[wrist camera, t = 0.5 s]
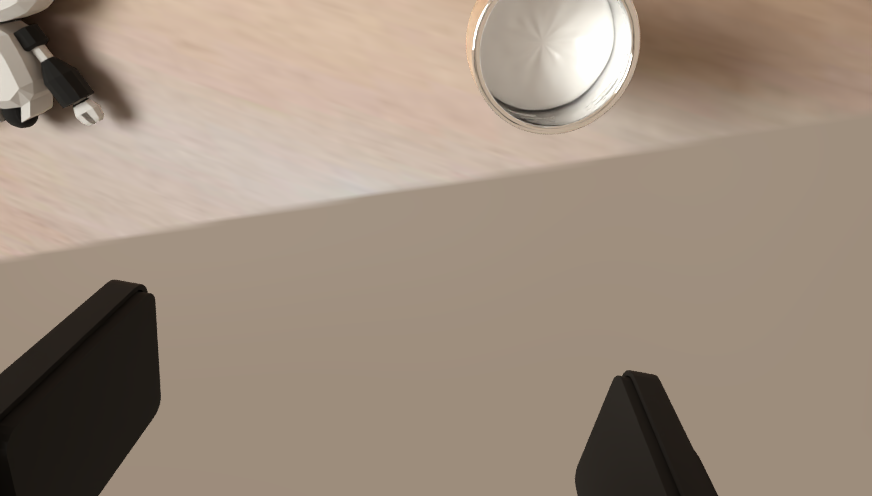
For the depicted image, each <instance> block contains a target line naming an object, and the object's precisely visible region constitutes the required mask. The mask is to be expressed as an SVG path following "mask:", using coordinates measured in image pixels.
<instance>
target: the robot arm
mask: <svg viewBox="0 0 872 496" xmlns="http://www.w3.org/2000/svg"><path fill="white" fill-rule="evenodd" d="M160 400H161V392H160V374H159V358H158V340H157V323H156V306H155V297H154V296H153V294H151V293H148V292H147V289H146V287H145V286H144V285H142V284H137V283H130V282H125V281H120V280H111V281H109V282H108V283H107V284H105V285H104V286H103V287H102V288H101V289H99V290H98V291H97V292H96V293H95V294H94V295H92V296H91V297H90V298H89V299H88V300H87V301H85V302H84V303H83V304H82V305H81V306H80V307H78V308H77V309H76V310H75V311H74V312H72V313H71V314H70V315H69V316H68V317H67V318H65V319H64V320H63V321H62V322H61V323H59V324H58V325H57V326H56V327H55V328H54V329H53V330H51V331H50V332H49V333H48V334H47V335H46V336H44V337H43V338H42V339H41V340H40V341H38V342H37V343H36V344H35V345H34V346H33V347H31V348H30V349H29V350H28V351H27V352H26V353H24V354H23V355H22V356H21V357H20V358H19V359H17V360H16V361H15V362H14V363H13V364H11V365H10V366H9V367H8V368H7V369H6V370H4V371H3V372H2V373H1V374H0V496H98V495H99V494H100V493H101V491H102V490H103V488H104V487H105V485H106V484H107V483H108V481H109V480H110V479H111V477H112V476H113V474H114V473H115V471H116V470H117V469H118V467H119V466H120V464H121V463H122V462H123V460H124V459H125V457H126V456H127V454H128V453H129V452H130V450H131V449H132V447H133V446H134V445H135V443H136V442H137V440H138V439H139V438H140V436H141V435H142V433H143V432H144V430H145V429H146V428H147V426H148V425H149V423H150V422H151V421H152V419H153V418H154V416H155V415H156V413H157V411H158V408H159V405H160ZM575 484H576V490H577V494H578V496H718V495H717V493H716V491H715V489H714V487H713V484H712V482H711V480H710V478H709V476H708V474H707V472H706V470H705V468H704V466H703V464H702V462H701V460H700V458H699V456H698V455H697V453H696V452H695V451H694V449H693V447H692V445H691V443H690V441H689V439H688V437H687V435H686V433H685V431H684V429H683V427H682V425H681V423H680V421H679V419H678V417H677V414H676V412H675V410H674V408H673V406H672V404H671V402H670V400H669V398H668V396H667V394H666V392H665V390H664V388H663V386H662V384H661V382H660V380H659V378H658V377H657V376H656V375H653V374H647V373H642V372H636V371H631V370H628V371H626V372H625V373H624V374H623V375H622V376H616V377H615V378H614V379H613V381H612V384H611V386H610V388H609V391H608V393H607V396H606V398H605V401H604V403H603V406H602V408H601V410H600V413H599V415H598V418H597V420H596V422H595V425H594V427H593V430H592V432H591V435H590V437H589V439H588V442H587V444H586V447H585V449H584V452H583V454H582V456H581V459H580V461H579V464H578V466H577V469H576V475H575Z"/></svg>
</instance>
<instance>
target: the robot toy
mask: <svg viewBox="0 0 872 496" xmlns="http://www.w3.org/2000/svg"><path fill="white" fill-rule="evenodd" d="M53 1H54V0H0V122H2V121H5V120H6V121H7V122H9V123H10V124H11V125H13V126H16V127H19V128H26V127H31V126H33V125H34V124H35V123H36V121H37V119H38V115H40V114H42V113H44V112H46V111H47V110H49V109H51V108H52V107H53V96H54V97H55V98H56V100H57V101H58V102H59V103H60V105H61V106H62V107H63V108H65V107H67V106H70V105H72V104H73V109H74V112H75V116H76V118H77V119H78V120H79V121H80V122H82V123H83V124H84V125H88V126H91V125H93V124H95V123H97V122H98V121H100V120H102V119H103V117H104V113H103V111H102V109H101V107H100V105H99V104H97V103H95V102H94V101H92V100H91V99H89V98H87V96H89V95H91V94H92V93H94V91H93V90H92V89H91V87H90V86H89V85H88V83H87V82H86V81H85V79H84V78H83V77H82V75H81V74H80V73H79V72H78V70H77V69H76V68H74V67H72V66H70V65H69V64H67V63H65V62H63V61H61V60H59V59H57V58H55V57H54V56H53V55H52V54H51V52H50V51H49V50H48V49H47V47H46V46H45V44H47V42H48V38H47V37H46V35H45V34H44V33H43V31H42V30H41V29H40V28H39V26H38V25H37V24H33V25H27V24H26V23H24V22H23V21H21V20H14V19H19V18H23V17H27V16H30V15H33V14H36V13H39V12H41V11H43V10H45V9H46V8H48V7H49V5H50V4H51V3H52V2H53Z"/></svg>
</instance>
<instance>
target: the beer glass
mask: <svg viewBox="0 0 872 496" xmlns="http://www.w3.org/2000/svg"><path fill="white" fill-rule="evenodd" d="M639 52H640V25H639V20H638V16H637V12H636V9H635V7H634V4H633V2H632V0H477V1H476V3H475V5H474V7H473V10H472V12H471V15H470V18H469V22H468V26H467V32H466V54H467V60H468V64H469V68H470V71H471V74H472V77H473V79H474V81H475V83H476V85H477V87H478V89H479V90H480V93H481V94H482V96H483V98H484V100H485V101H486V103H487V104H488V105H489V107H490V108H491V109H492V110H493V111H494V112H495V113H496V114H497V115H498V116H499V117H500V118H502V119H503V120H504V121H506V122H507V123H509V124H511V125H512V126H514V127H516V128H519V129H521V130H524V131H527V132H531V133H536V134H561V133H566V132H570V131H574V130H577V129H579V128H582V127H584V126H586V125H588V124H590V123H592V122H593V121H595V120H597V119H598V118H599V117H601V116H602V115H603V114H605V113H606V112H607V111H608V110H609V109H610V108H611V107H612V106H613V105H614V104H615V103H616V102H617V101H618V100H619V98H620V97H621V96H622V94H623V93H624V91H625V90H626V88H627V86H628V85H629V83H630V81H631V79H632V76H633V74H634V71H635V69H636V65H637V62H638V57H639Z"/></svg>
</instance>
